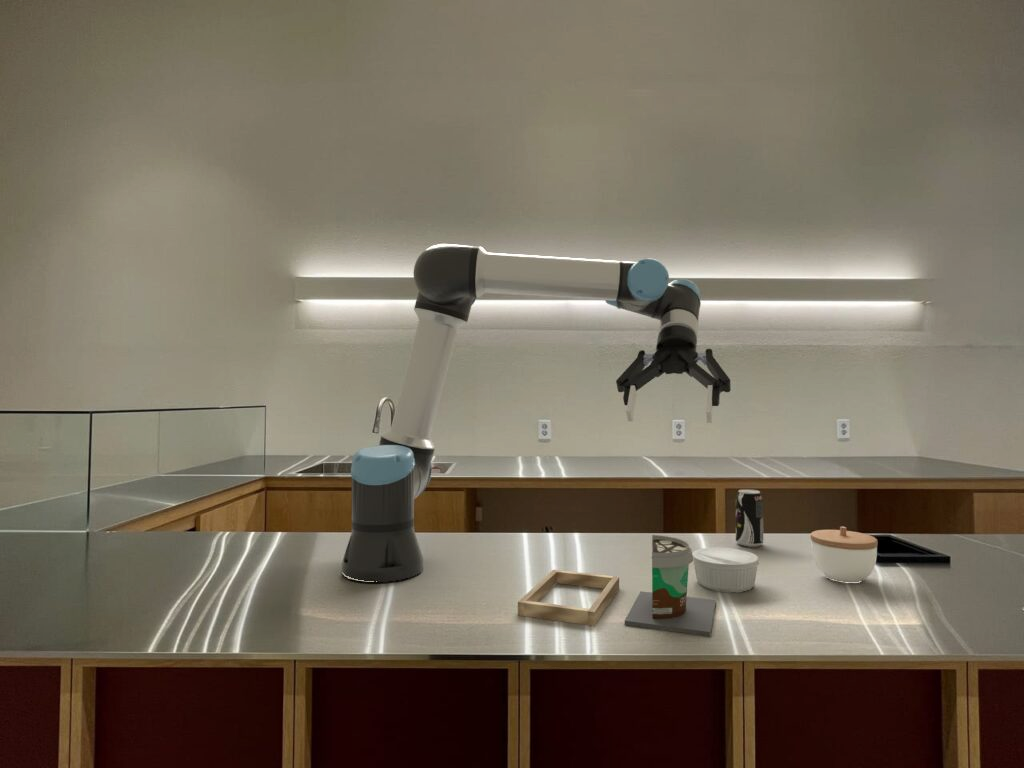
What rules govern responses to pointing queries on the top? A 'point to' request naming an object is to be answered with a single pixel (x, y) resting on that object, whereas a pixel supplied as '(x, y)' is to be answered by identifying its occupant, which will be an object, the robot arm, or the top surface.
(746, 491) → the beverage can
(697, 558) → the ramekin
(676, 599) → the food container
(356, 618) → the top surface
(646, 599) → the charcoal mat
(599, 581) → the oak frame
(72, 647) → the top surface
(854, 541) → the lidded jar
